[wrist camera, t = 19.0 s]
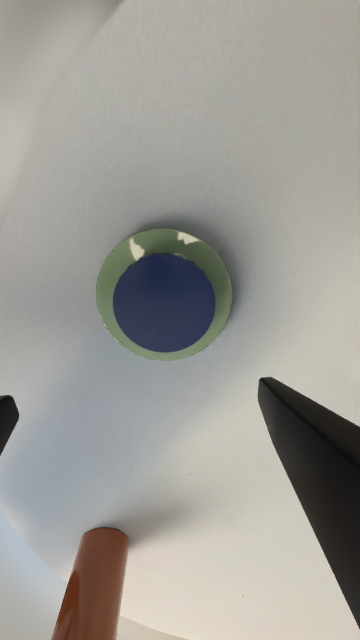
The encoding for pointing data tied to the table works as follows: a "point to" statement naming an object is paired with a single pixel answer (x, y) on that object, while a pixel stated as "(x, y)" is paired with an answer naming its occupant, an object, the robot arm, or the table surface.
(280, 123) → the table surface
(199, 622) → the table surface
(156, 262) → the jar lid
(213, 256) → the saucer
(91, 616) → the jar
